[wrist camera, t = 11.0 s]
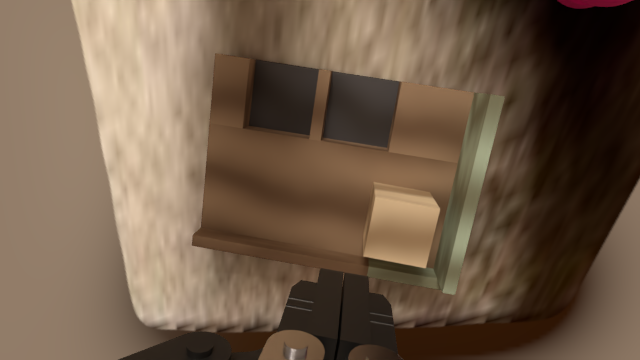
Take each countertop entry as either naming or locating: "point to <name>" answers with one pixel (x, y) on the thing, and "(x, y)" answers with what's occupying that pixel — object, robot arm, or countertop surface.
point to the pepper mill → (592, 3)
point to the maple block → (400, 225)
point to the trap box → (338, 165)
